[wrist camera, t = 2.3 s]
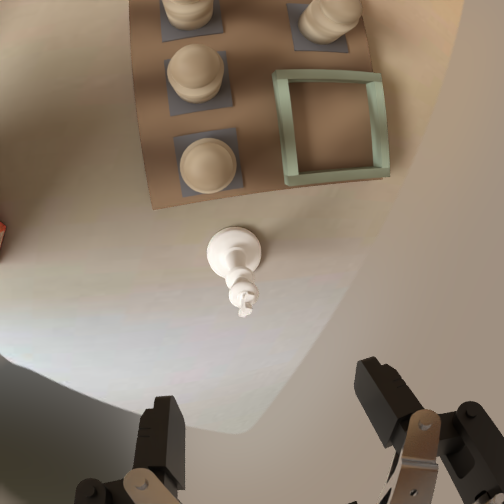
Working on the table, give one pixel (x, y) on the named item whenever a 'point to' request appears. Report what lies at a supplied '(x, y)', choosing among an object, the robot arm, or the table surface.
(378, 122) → the pawn tray
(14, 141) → the table surface
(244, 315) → the chess piece
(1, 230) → the cracker box
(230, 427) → the table surface
